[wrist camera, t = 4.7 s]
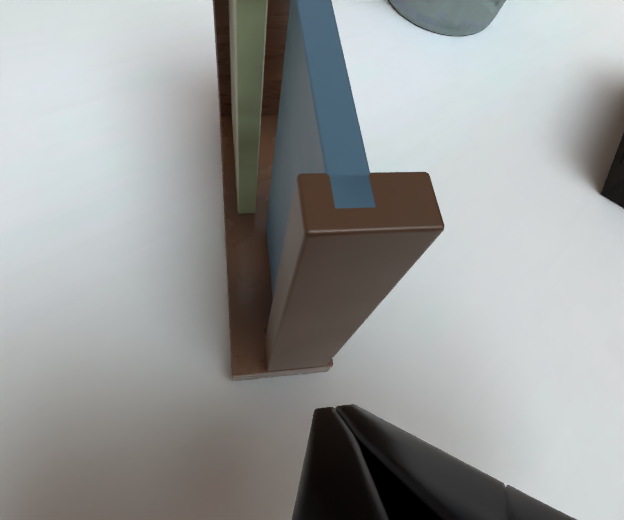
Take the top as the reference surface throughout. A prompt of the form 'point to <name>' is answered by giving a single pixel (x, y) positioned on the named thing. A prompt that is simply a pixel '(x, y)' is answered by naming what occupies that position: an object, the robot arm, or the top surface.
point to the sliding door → (332, 205)
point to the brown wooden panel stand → (249, 167)
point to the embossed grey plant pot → (449, 14)
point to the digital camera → (616, 177)
